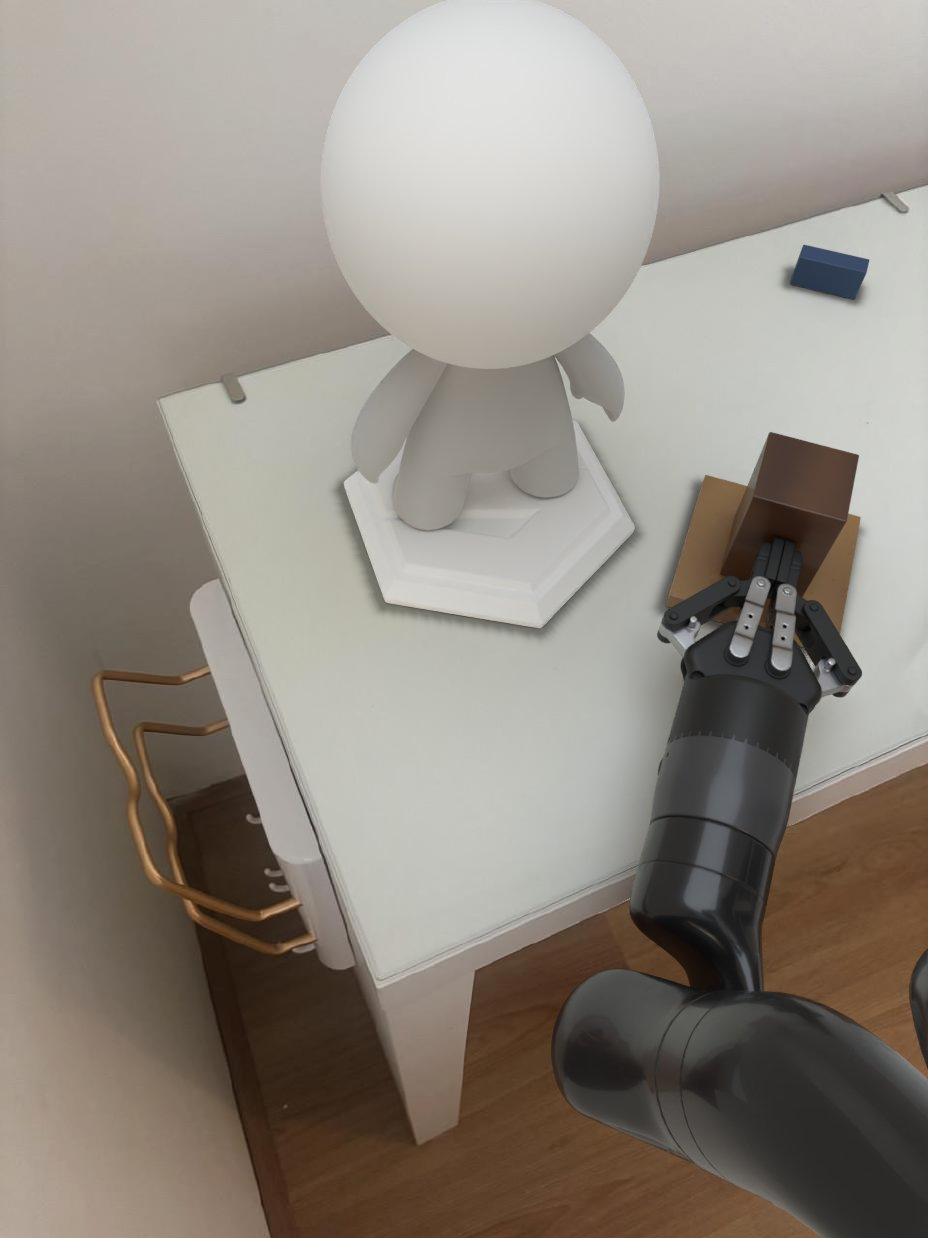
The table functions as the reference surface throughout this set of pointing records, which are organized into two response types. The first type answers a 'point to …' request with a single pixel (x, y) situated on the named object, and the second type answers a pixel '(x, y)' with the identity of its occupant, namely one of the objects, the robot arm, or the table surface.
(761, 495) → the block
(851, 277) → the blue rectangular block
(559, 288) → the big headed doll
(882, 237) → the table surface
